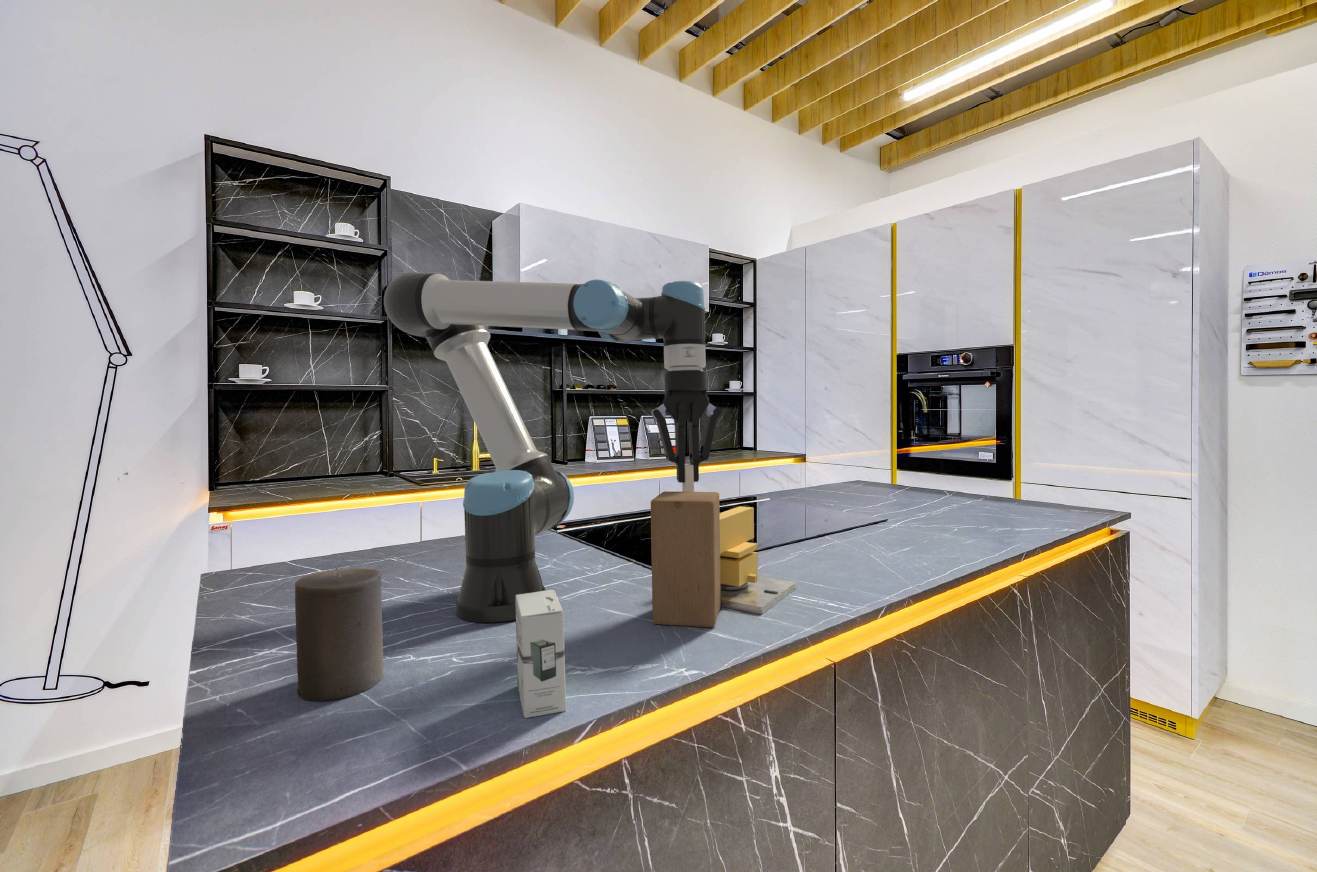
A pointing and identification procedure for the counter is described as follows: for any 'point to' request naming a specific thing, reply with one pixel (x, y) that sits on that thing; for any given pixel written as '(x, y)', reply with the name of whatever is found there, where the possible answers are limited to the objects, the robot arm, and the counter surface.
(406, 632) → the counter surface
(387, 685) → the counter surface
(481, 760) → the counter surface
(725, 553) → the yellow block with bar
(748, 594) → the base
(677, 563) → the wooden block
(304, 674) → the pillar candle
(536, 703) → the ink box
